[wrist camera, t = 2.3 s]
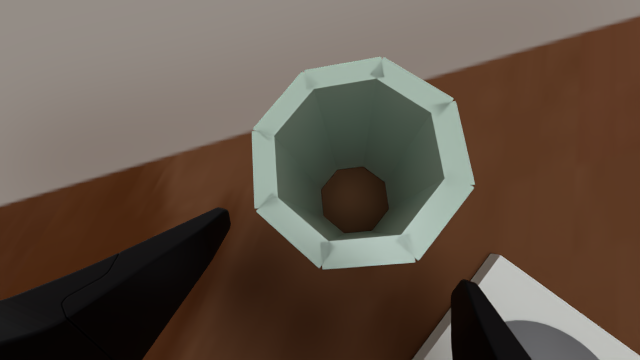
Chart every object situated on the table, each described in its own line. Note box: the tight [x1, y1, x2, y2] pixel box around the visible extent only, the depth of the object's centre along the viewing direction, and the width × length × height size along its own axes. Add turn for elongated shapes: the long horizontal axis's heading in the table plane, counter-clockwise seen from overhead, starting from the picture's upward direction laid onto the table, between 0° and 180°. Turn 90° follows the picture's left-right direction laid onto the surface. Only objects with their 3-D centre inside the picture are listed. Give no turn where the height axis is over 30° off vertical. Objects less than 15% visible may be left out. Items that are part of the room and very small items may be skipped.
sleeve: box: [252, 57, 475, 270], centre depth 14 cm, size 7×7×12 cm
